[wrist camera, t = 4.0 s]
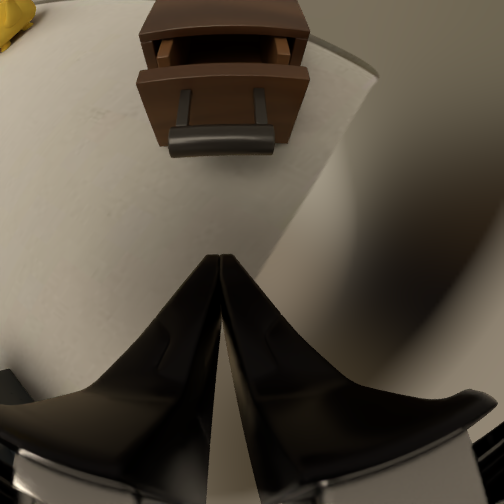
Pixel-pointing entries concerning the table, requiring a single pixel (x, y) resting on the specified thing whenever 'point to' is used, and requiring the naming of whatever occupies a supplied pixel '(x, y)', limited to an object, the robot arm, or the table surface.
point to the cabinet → (224, 23)
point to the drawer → (223, 94)
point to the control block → (11, 393)
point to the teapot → (14, 19)
